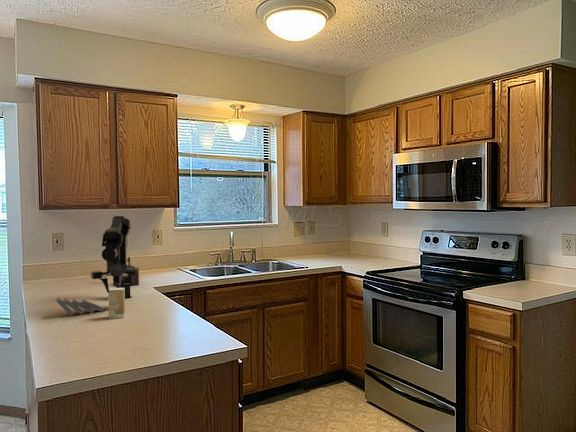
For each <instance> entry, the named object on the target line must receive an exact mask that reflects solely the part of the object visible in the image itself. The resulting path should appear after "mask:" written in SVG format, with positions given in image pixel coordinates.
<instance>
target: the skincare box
mask: <svg viewBox="0 0 576 432" xmlns="http://www.w3.org/2000/svg"><path fill="white" fill-rule="evenodd" d="M125 299H126V298H125V288H116V287H113V288H111V287H109V293H108V319H120V318H121V319H122V318H125V316H126V314H125V312H126V308H125V307H126V305H125V302H126V300H125Z"/></svg>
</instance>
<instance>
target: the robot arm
mask: <svg viewBox="0 0 576 432" xmlns="http://www.w3.org/2000/svg"><path fill="white" fill-rule="evenodd" d="M112 217H113V218H112V220H111V225H110V228H108V229H105V231H104V233H102V234H103V235H102V241H101V247H104V249H103V250H102V252H101V257H102V260H104V261H106V271H102V270H94V271H91V272H90V278H91V279H92V280H100V281H101V282H102V284H103V286H104V287H105V288H104V289H105V291H106V293H108V294H109V289H110V287H109V282H108V281H109V280H108V277H112V283H113V288H125V299H129V298H130V299H131V298H132V296H131V287H132V286H131V285H133V278H132V276H131V275H136V270H135V269H134V268H128V267H127V264H128V263H127V262H128V261H127V260H128V257H127V255H128V254H127V237H128V235H129V234H130V232H131V231H130V230H131V228H132V223H131V221H130V219H128V218H126V217H125V216H124V215H114V216H112ZM129 282H130V283H129Z"/></svg>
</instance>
